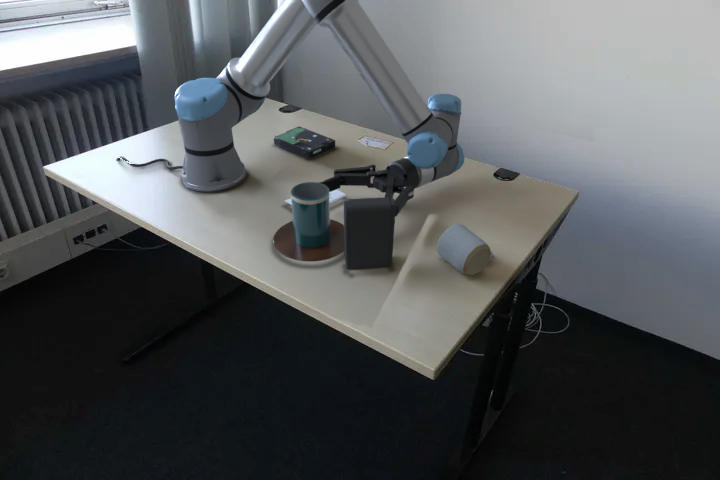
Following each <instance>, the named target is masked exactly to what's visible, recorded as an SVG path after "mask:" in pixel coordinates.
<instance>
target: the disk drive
mask: <svg viewBox="0 0 720 480" xmlns="http://www.w3.org/2000/svg"><path fill="white" fill-rule="evenodd" d="M273 144H274V145H275V146H277V147H279V148H281V149H284V150H286V151H289V152H291V153H293V154H295V155H298V156H299V157H302V158H305V159H307V160H308V159H309V160H312V159H314V158H317V157H319V156H322V155H324V154H325V153H328V152H331V151H332V150H334V149H336V139H333V138H331V137H328V136H325V135H323V134H320V133H318V132H315V131H313V130H310V129H308V128H305V127H302V126H299V125H298V126H297V127H294V128H291V129H289V130H286V131H285V132H283V133H281V134H278V135H274V137H273Z"/></svg>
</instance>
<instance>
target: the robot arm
mask: <svg viewBox="0 0 720 480" xmlns="http://www.w3.org/2000/svg"><path fill="white" fill-rule="evenodd" d="M316 26H318V27H320V28H324V29H327V30H328V32H329V33H330V34H331V35H332V38H333V39H334V40H335V42H336V43H337V45H338V46H339V48H340V49H341V50H342V51H343V53H344V54H345V56H346V57H347V59H348V60H349V61H350V63H351V65H352V66H353V67H354V69H355V70H356V71H357V73H358V75H359V76H360V77H361V79H362V80H363V82H364V83H365V84H366V86H367V87H368V89H369V91H371V93H372V95H373V96H374V97H375V99H376V100H377V102H378V103H379V104H380V106H381V107H382V109H383V110H384V111H385V113H386V114H387V116H388V117H389V119H390V120H391V121H392V123H393V124H394V126H395V128H397V131H398V132H399V133H400V134H401V135H402V137H403V139H404V140H405V143H407V148H406V153H407V154H406V155H407V156H404V157H403V158H400V159H396V160H395V161H392V162H390V163H389V164H388V165H387V167H386V168H385V169H381V170H378V169H377V165H375V164H369V165H367V166H366V165H365V166H357V167H346V168H336V169H334V170H333V176H331V177H330V178H326V179H325V180H322V181H320V182H319V183H321V184H324V185H326V186H327V187H328V188H329V192H331V191H334V190H336V189H337V190H339V189H341V186H343V187H344V186H346V187H347V186H349V187H351V186H352V187H353V186H355V187H356V186H357V187H367V188H369V189H376V190H378V191H379V192H381V193H383V194H384V197H389V198H393V199H394V195H395V194H398V196H397V197H396V198H395V199H394V202H395V218H396V217H397V216H398V215H399V214H400V212H401V211H402V209H403V208H404V207H405V205H406V204H407V203H408V201H409V200H412V199H413V198H414V196H415V189H418V188H421V187H423V186H425V185H427V184H430V183H432V182H435V181H438V180H440V179H442V178H445V177H448V176H450V175H452V174H453V173H456V172H457V171H458V170H460V169H461V168H462V167H463V165H464V163H465V154H464V149H463V147H462V146H461V144H459V143H458V137H459V127H460V122H461V115H462V100H461V98H460V97H458V96H457V95H455V94H451V93H436V94H433V95H431V96H429V98H428V100H427V103H426V101H425V100H424V98H423V97H422V95H421V94H420V92H419V91H418V90H417V87H416V86H415V85H414V83H413V82H412V79H410V77H409V76H408V74H407V72H405V70H404V68H403V67H402V65H401V64H400V63H399V60H398V59H397V58H396V57H395V55H394V53H393V52H392V50H391V49H390V47H389V46H388V45H387V42H386V41H385V40H384V38H383V37H382V35H381V34H380V32H379V31H378V29H377V28H376V26H375V25H374V23H373V22H372V20H371V18H370V17H369V16H368V14H367V12H366V11H365V10H364V9H363V7H362V5H361V4H360V0H283V1H282V2H281V3H280V5H278V7H277V9H276V10H275V11H274V12H273V14H272V15H271V17H270V18H269V19H268V21H267V22H266V23H265V25H264V26H263V27H262V29H261V30H260V31H259V32H258V34H257V36H256V37H255V38H254V39H253V41H252V42H251V44H250V45H249V46H248V47H247V49H246V50H245V52H243V54H242V56H240V57H233V58H231V59H230V60H229V61H228V62H227V64H226V65H225V67H224V68H223V70H222V71H221V72H220V74H218V76H217V77H199V78H196V79H195V80H193V79H191V80H188V81H186V82H184V83H183V84H181V85H180V86H179V87H177V89H176V91H175V94H174V101H175V106H174V107H175V113H176V114H177V119H178V125H179V129H180V134H181V139H182V144H183V150H184V158H183V164H182V165H175V166H171V165H170V162H169V160H168V159H166V158H156V159H153V160H150V161H147V162H144V163H134V164H129V163H127V165H129V166H131V167H133V168H143V167H147V166H150V165H153V164H155V163H160V162H162V163H163V162H164V163H165V165H166V168H167V169H168V170H181V169H182V171H181V178H182V183H183V185H184V186H185V187H186V188H187V189H190V190H192V191H196V192H201V193H215V192H221V191H225V190H229V189H233V188H235V187H236V186H238V185H240V184H242V182H243V181H244V180H245V178H246V166H245V163H244V162H243V161H242V160H241V158H240V156H239V154H238V151H237V150H236V147H235V142H234V135H233V128H234V127H235V126H237V125H238V124H240V123H241V122H242V121H243V120H245V119H247V118H248V117H250V116H251V115H252V114H254V113H256V112H257V111H258V110H259V109H260V108H261V107H262V106H263V104H264V103H265V100H266V97H267V95H268V94H269V93H270V91H271V85H270V82H271V80H272V79H274V77H275V76H276V75H277V74H278V73H279V71H280V70H281V69H282V68H283V66H284V65H285V64H286V63H287V61H288V60H289V59H290V58H291V57H292V55H293V54H294V53H295V52H296V51H297V49H298V48H299V47H300V46H301V45H302V43H303V42H304V41H305V40H306V39H307V38H308V37H309V35H310V34H311V32H312V31H314V29H315V28H316ZM119 157H120V158H122V159H123V160H122V159H120V158H118V157H117V158H116V160H115V161H116V162H118V161H120V160H122V161H124V160H125V161H128V162H129V161H130V160H129V159H127V158H126V157H125V156H122V155H121V156H119ZM125 161H124V162H125ZM371 179H372V181H371Z"/></svg>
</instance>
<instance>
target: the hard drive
mask: <svg viewBox="0 0 720 480" xmlns="http://www.w3.org/2000/svg"><path fill="white" fill-rule="evenodd" d="M347 196H348V194H347V193H345V192H343V191H341V190H339V189H336V190H334V191H331V192H329V203H330V205H331V204H333V203H335V202H337V201H339V200H341V199H343V198H345V197H347ZM283 202H285V203H286V204H287V205H289V206H291V207H292V202H291V197H290V198H288V199H286V200H284V201H283Z"/></svg>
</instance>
